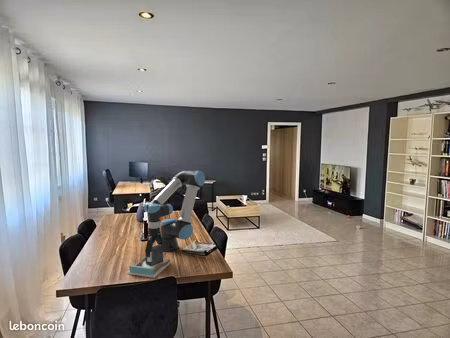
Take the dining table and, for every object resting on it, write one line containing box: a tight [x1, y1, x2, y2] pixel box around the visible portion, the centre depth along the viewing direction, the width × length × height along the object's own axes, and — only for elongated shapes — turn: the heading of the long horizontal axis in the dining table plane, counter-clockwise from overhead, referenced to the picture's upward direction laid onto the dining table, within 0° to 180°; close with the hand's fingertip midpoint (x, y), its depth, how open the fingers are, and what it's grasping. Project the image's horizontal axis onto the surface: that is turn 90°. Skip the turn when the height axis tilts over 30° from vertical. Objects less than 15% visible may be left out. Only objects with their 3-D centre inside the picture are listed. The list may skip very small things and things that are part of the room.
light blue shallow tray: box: [126, 255, 171, 279], centre depth 185 cm, size 22×19×5 cm
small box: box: [144, 244, 164, 266], centre depth 192 cm, size 11×6×10 cm, turn 140°
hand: (154, 257), depth 192 cm, fingers open, 13 cm apart
